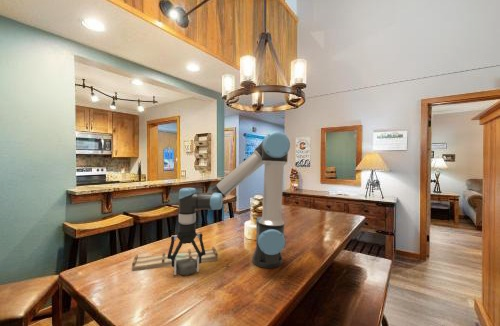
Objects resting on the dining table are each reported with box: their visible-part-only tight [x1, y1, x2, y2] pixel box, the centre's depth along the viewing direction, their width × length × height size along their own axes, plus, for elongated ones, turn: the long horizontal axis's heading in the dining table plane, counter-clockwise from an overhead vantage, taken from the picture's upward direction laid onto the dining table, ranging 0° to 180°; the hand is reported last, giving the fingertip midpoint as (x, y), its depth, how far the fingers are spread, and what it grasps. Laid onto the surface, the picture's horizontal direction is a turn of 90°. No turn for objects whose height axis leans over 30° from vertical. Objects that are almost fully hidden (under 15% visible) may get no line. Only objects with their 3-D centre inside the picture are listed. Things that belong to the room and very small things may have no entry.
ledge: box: [131, 246, 219, 272], centre depth 121 cm, size 11×40×4 cm, turn 108°
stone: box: [176, 258, 197, 276], centre depth 108 cm, size 9×9×10 cm
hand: (186, 272), depth 106 cm, fingers closed on stone, 9 cm apart
